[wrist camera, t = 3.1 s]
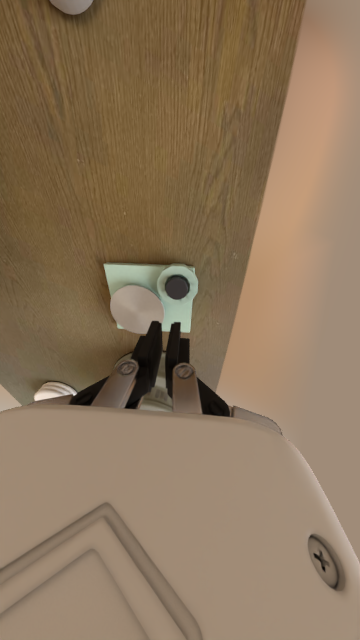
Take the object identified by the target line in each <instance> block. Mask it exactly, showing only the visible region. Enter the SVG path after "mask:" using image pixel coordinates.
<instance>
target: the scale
mask: <svg viewBox="0 0 360 640" xmlns="http://www.w3.org/2000/svg"><path fill="white" fill-rule="evenodd" d="M104 268H105V273H106V277H107V282H108V286H109V291H110V295H111V298H112V296H113V294H114V293H115V292H116V291H117V290H118V289H120V288H122V287H124V286H128V285H138V286H143V287H145V288H147V289H149V290H151V291H152V292H154V293H155V294H156V295H157V296H158V297H159V299H160V300H161V302H162V304H163V306H164V311H165V316H164V320H163V323H162V331H170V328H171V323H173V324H174V322H181V332H189V333H190V325H191V312H192V300H193V298H194V297H195V295H196V294H197V290H198V279H197V277H196V275H195V266H186V265H185V264H175V263H173V264H171V265H157V264H134V263H111V262H107V263H105V264H104ZM173 276H181V277H183V278H184V279H185V280H186V281H187V283H188V292H187V295H186V296H185V297H184V298H182V299H180V300H175V299H172V298H170V297H169V296H168V295H167V293H166V285H167V282H168V280H169V279H170V278H171V277H173ZM117 326H118V328H119V329H124V328H123V327H121V326H120V325H119V324H118V323H117Z"/></svg>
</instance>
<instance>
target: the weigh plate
mask: <svg viewBox="0 0 360 640" xmlns="http://www.w3.org/2000/svg"><path fill="white" fill-rule="evenodd" d="M110 309H111V313H112V315H113V317H114V319H115V320H116V322H117V323H118V324H119V325H120V326H121V327H123V328H124V329H126V330H128V331H130V332H133V333H138V334H146V333H147V331H148V329H149V327H150V324H151V322H152V321H159V323H163V320H164V316H165V311H164V306H163V304H162V302H161V300H160V299H159V297H158V296H157V295H156V294H155V293H154V292H152V291H151V290H149V289H147V288H145V287H143V286H138V285H128V286H124V287H122V288H120V289H118V290H117V291H116V292H115V293H114V294H113V296H112V298H111V301H110Z"/></svg>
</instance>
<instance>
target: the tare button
mask: <svg viewBox="0 0 360 640" xmlns="http://www.w3.org/2000/svg"><path fill="white" fill-rule="evenodd" d="M187 292H188V283H187V281H186V280H185V279H184V278H183V277H181V276H173V277H171V278H170V279H169V280H168V282H167V285H166V293H167V295H168V296H169V297H170V298H172V299H175V300H180V299H182V298H184V297H185V296H186V295H187Z"/></svg>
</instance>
